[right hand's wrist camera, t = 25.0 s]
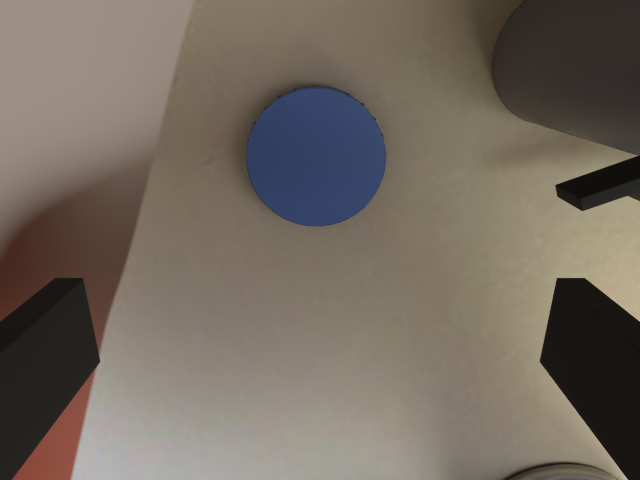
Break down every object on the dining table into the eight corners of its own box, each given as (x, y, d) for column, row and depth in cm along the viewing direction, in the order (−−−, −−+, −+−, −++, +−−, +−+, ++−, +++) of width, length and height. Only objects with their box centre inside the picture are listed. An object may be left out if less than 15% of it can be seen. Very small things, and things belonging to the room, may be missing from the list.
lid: (236, 200, 32) (231, 207, 30) (266, 66, 28) (263, 67, 27) (359, 233, 33) (361, 242, 31) (401, 107, 29) (406, 110, 28)
